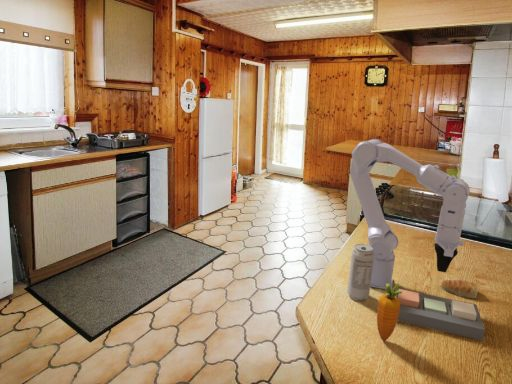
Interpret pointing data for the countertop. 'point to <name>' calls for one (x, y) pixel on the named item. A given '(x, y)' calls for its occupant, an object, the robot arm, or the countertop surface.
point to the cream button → (463, 310)
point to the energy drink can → (360, 272)
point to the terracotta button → (409, 298)
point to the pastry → (460, 288)
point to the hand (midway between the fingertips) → (441, 270)
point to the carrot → (388, 312)
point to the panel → (441, 318)
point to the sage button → (434, 306)
